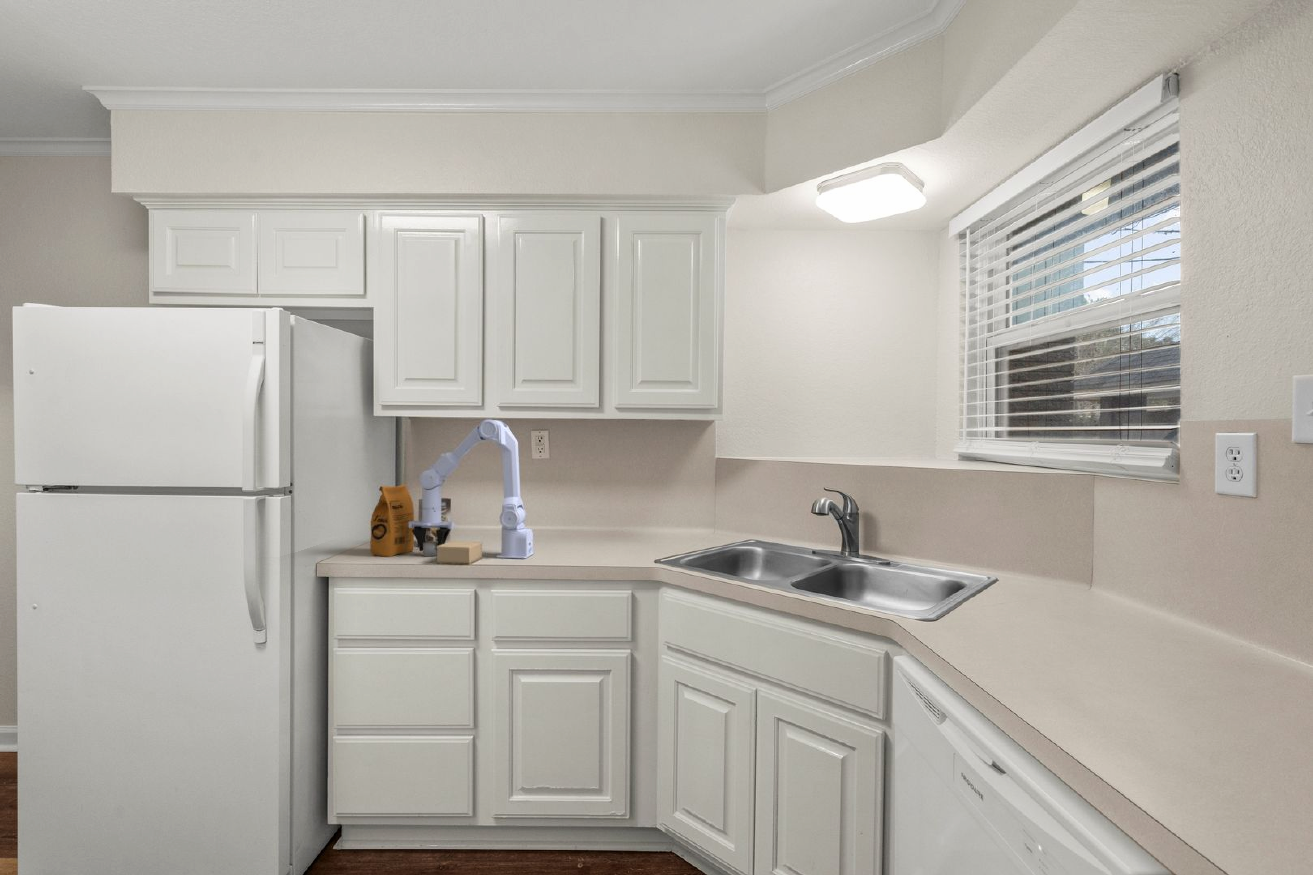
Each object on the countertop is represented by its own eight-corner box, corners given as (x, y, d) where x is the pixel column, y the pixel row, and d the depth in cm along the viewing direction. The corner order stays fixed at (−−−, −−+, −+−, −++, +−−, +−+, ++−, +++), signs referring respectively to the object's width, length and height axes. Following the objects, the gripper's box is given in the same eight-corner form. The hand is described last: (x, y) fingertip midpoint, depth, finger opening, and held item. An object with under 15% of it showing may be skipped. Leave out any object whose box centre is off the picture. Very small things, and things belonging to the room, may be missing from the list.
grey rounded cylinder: (441, 553, 194) (441, 540, 194) (436, 556, 189) (436, 543, 189) (425, 553, 194) (425, 541, 194) (420, 556, 189) (420, 543, 189)
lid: (482, 543, 187) (482, 542, 187) (469, 549, 178) (469, 547, 177) (451, 542, 188) (451, 541, 188) (436, 548, 179) (436, 546, 179)
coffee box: (427, 547, 204) (428, 500, 204) (417, 545, 208) (417, 499, 208) (451, 544, 211) (451, 498, 211) (440, 542, 215) (441, 497, 215)
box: (481, 558, 187) (482, 544, 187) (469, 564, 178) (469, 549, 178) (451, 557, 188) (451, 543, 188) (437, 563, 179) (437, 548, 179)
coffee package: (364, 555, 190) (365, 486, 190) (395, 548, 202) (395, 483, 202) (388, 557, 187) (389, 487, 187) (418, 551, 198) (418, 484, 198)
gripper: (403, 509, 188) (403, 552, 189) (447, 510, 187) (446, 553, 187) (415, 506, 195) (415, 548, 196) (457, 507, 194) (457, 549, 194)
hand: (431, 550), depth 192 cm, fingers open, 6 cm apart
